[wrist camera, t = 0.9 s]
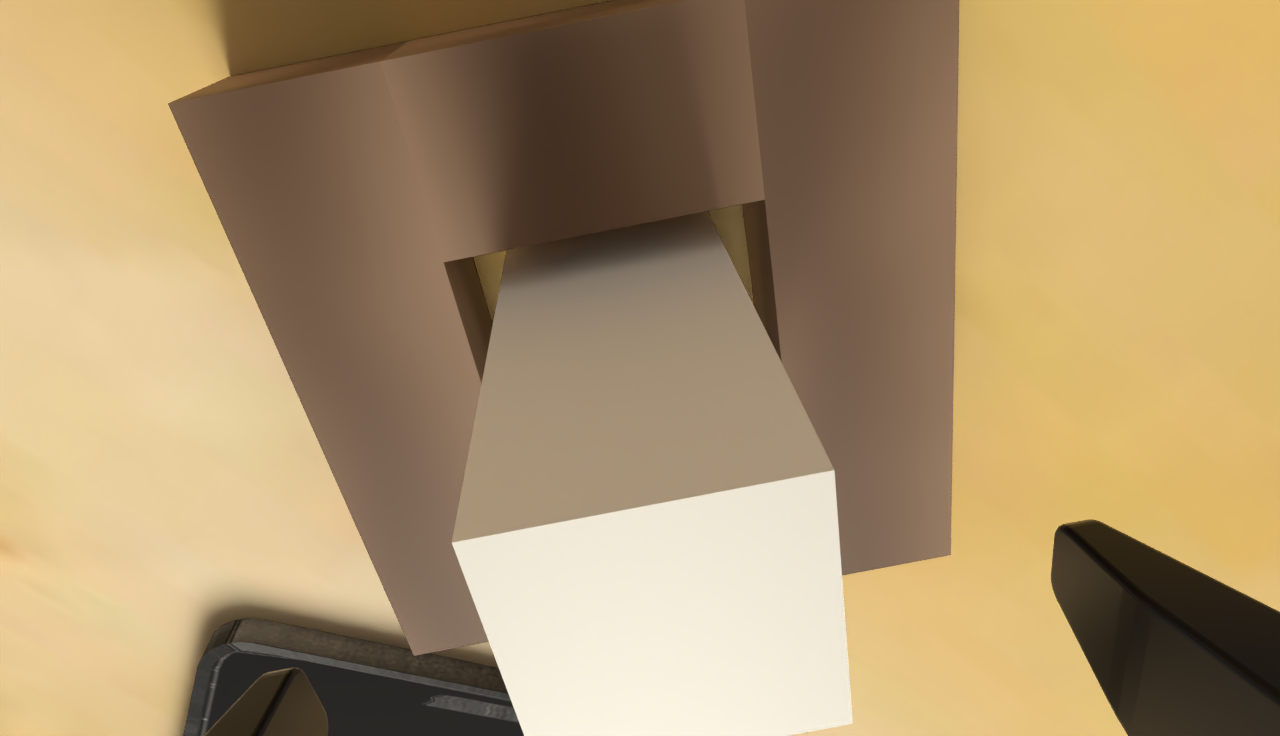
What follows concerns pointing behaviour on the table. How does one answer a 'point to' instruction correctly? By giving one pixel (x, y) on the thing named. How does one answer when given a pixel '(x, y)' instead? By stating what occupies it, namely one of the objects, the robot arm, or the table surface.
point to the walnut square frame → (594, 202)
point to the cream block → (650, 499)
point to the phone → (353, 683)
